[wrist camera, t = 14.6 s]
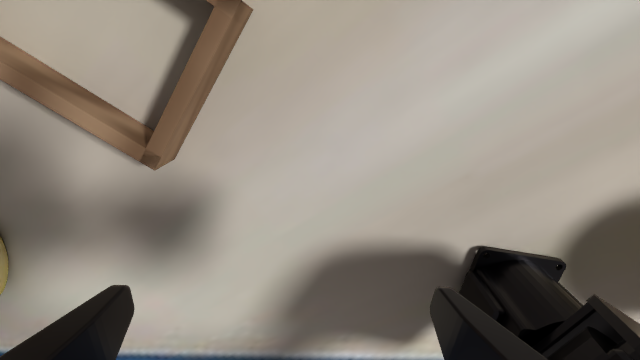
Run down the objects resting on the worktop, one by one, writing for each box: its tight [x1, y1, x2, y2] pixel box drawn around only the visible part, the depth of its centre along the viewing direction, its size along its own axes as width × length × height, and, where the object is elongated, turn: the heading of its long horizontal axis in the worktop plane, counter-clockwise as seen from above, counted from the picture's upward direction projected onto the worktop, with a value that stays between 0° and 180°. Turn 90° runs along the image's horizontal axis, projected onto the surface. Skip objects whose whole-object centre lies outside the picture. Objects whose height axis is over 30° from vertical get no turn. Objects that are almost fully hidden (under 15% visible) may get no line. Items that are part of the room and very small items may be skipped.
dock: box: [0, 0, 253, 170], centre depth 17 cm, size 15×11×2 cm
